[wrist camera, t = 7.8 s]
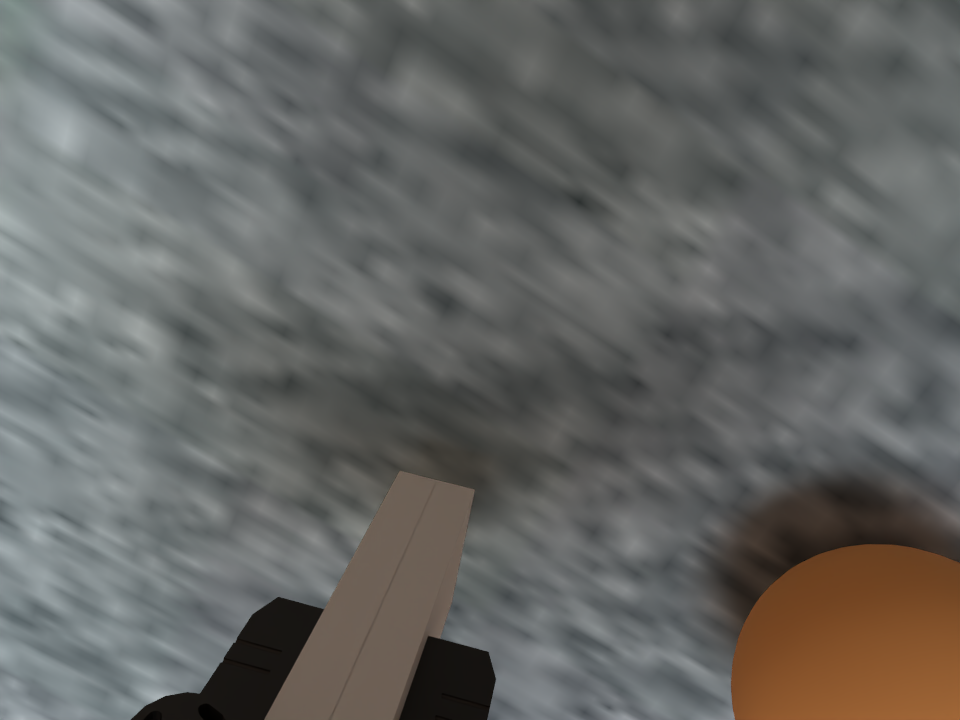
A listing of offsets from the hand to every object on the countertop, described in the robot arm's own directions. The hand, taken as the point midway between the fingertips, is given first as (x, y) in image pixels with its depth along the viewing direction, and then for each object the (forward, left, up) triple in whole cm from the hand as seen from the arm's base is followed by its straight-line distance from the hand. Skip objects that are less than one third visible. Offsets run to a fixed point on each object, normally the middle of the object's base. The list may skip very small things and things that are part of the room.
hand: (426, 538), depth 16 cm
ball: (-6, +6, +1) cm, 9 cm away
